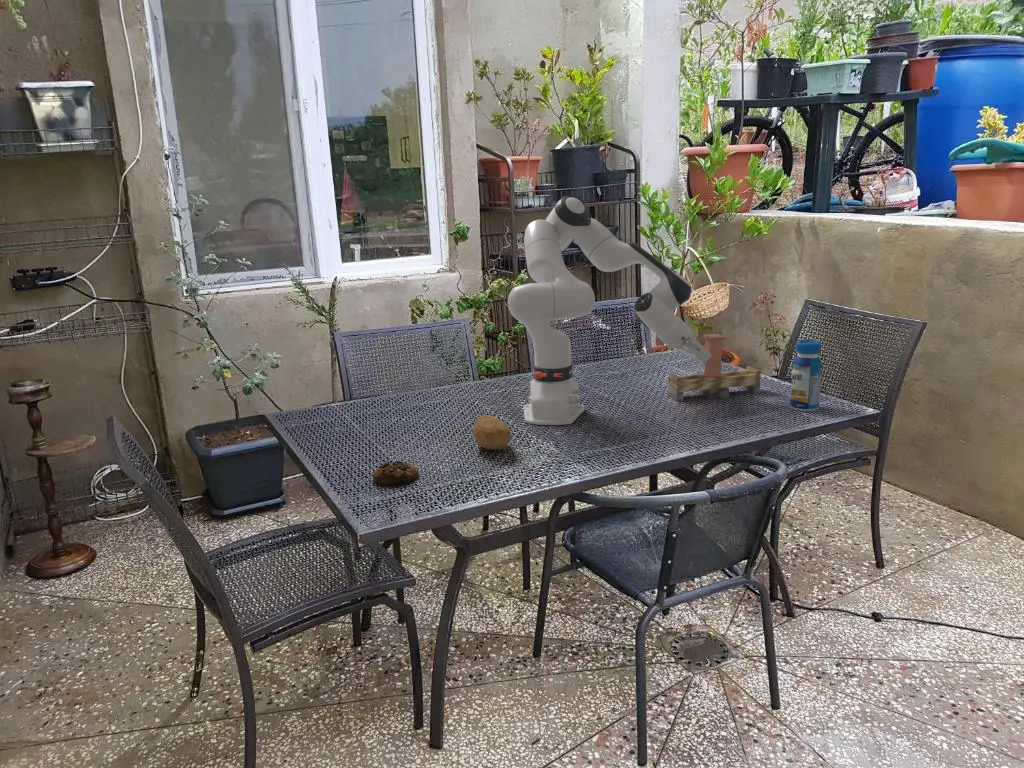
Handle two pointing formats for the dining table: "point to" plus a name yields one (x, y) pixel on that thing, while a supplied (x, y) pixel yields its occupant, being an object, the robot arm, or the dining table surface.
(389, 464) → the bread roll
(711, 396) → the beam
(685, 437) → the dining table surface
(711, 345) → the terracotta square pillar
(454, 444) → the dining table surface
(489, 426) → the potato
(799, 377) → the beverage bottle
